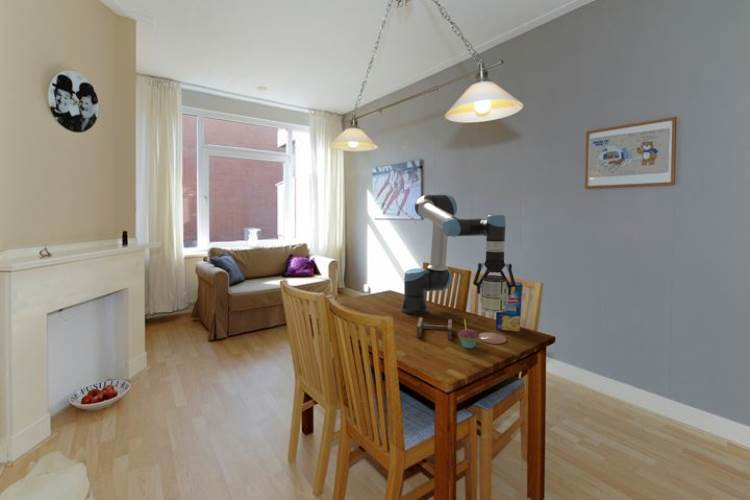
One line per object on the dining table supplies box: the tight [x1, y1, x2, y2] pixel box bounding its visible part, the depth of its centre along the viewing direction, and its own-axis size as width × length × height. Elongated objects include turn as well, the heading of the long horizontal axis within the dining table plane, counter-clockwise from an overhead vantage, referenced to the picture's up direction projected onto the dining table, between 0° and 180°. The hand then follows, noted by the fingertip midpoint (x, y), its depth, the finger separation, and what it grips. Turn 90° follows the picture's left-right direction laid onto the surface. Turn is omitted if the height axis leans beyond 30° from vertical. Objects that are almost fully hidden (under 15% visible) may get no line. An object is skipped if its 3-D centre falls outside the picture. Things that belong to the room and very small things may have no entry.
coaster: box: [478, 332, 507, 345], centre depth 159 cm, size 12×12×1 cm
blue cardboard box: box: [495, 281, 523, 332], centre depth 173 cm, size 7×11×22 cm, turn 69°
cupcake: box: [457, 317, 480, 349], centre depth 150 cm, size 9×8×12 cm
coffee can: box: [480, 274, 508, 313], centre depth 157 cm, size 10×10×14 cm
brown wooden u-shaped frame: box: [416, 316, 453, 341], centre depth 166 cm, size 14×15×5 cm
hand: (493, 301), depth 157 cm, fingers closed on coffee can, 10 cm apart
